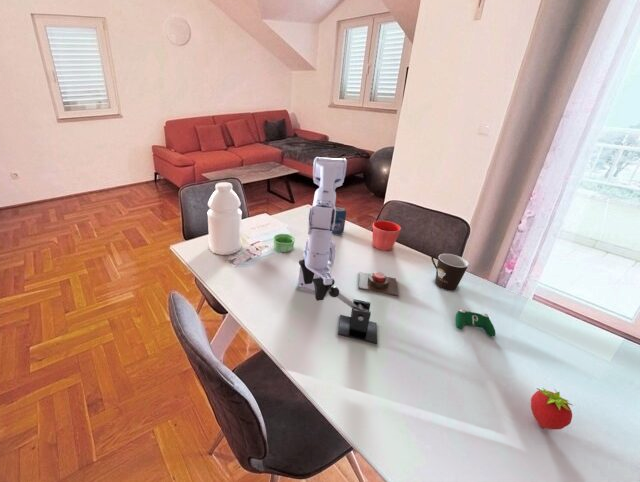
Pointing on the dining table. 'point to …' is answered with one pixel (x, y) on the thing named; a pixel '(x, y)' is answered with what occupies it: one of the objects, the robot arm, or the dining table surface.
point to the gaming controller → (474, 321)
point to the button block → (378, 284)
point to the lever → (344, 298)
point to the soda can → (339, 220)
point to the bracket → (358, 324)
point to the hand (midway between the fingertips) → (313, 291)
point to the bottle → (224, 220)
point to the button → (379, 277)
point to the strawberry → (550, 410)
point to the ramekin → (283, 242)
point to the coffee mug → (449, 271)
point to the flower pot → (385, 234)
